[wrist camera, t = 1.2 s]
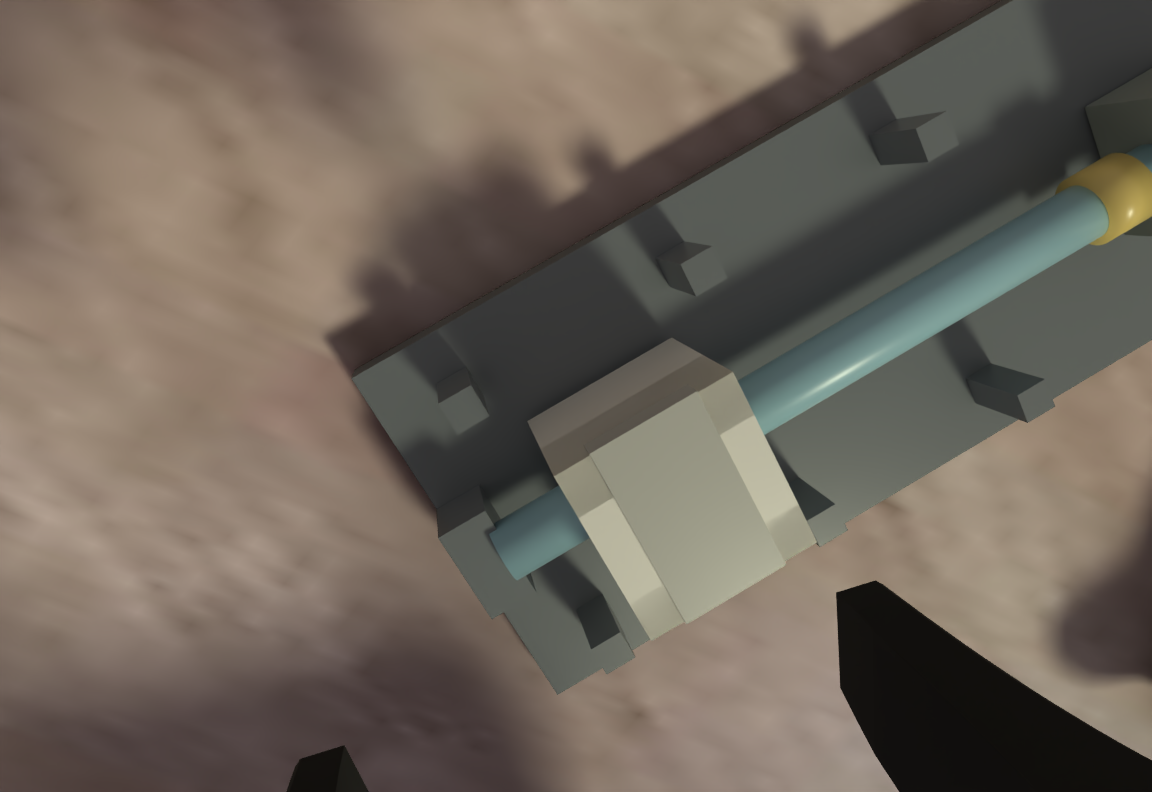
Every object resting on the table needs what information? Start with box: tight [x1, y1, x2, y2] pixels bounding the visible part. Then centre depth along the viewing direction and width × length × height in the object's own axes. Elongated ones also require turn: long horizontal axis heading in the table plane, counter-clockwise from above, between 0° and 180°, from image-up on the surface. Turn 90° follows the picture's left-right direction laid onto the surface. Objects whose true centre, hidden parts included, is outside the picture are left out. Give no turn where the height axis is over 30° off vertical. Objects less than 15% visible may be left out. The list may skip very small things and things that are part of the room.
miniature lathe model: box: [351, 0, 1152, 695], centre depth 20 cm, size 22×10×4 cm, turn 119°
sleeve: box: [527, 338, 817, 641], centre depth 19 cm, size 4×4×4 cm
